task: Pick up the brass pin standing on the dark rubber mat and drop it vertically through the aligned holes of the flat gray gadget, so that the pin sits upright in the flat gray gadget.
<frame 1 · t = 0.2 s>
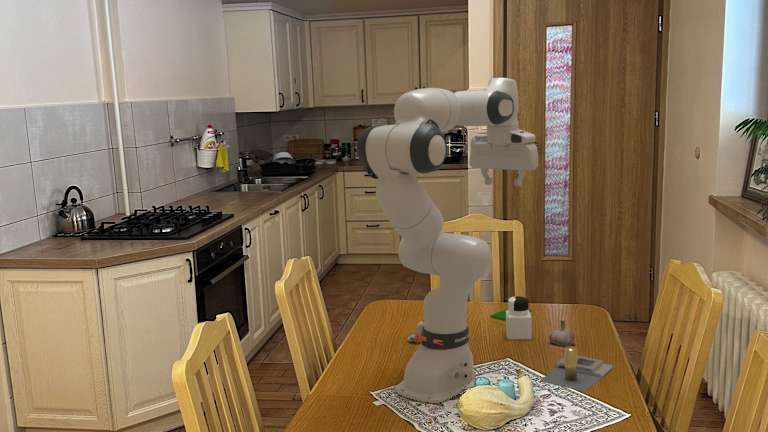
hand: (503, 185, 201), 47 cm above the table, fingers open, 8 cm apart
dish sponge: (511, 320, 234), on the table
flat gray gadget: (584, 365, 186), on the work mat, point 2 cm above the table
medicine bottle: (518, 336, 217), on the table
garlic bulb: (561, 345, 208), on the table
pacifier: (418, 340, 217), on the table
brass pin: (570, 378, 180), point 1 cm above the table, touching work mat
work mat: (578, 378, 184), on the table
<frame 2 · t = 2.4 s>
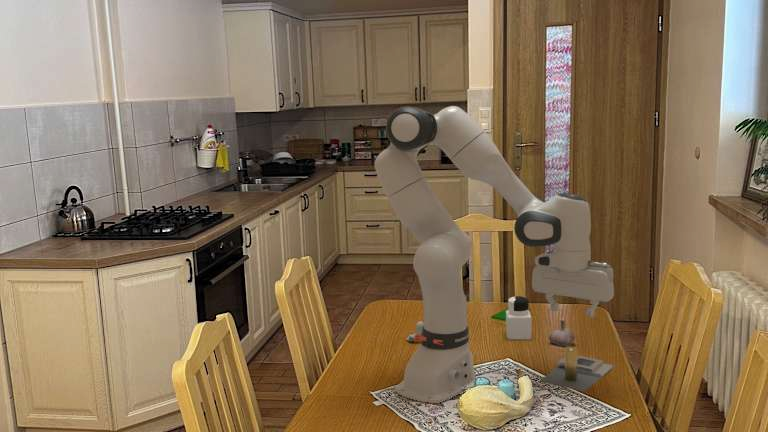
hand: (571, 313, 177), 19 cm above the table, fingers open, 8 cm apart
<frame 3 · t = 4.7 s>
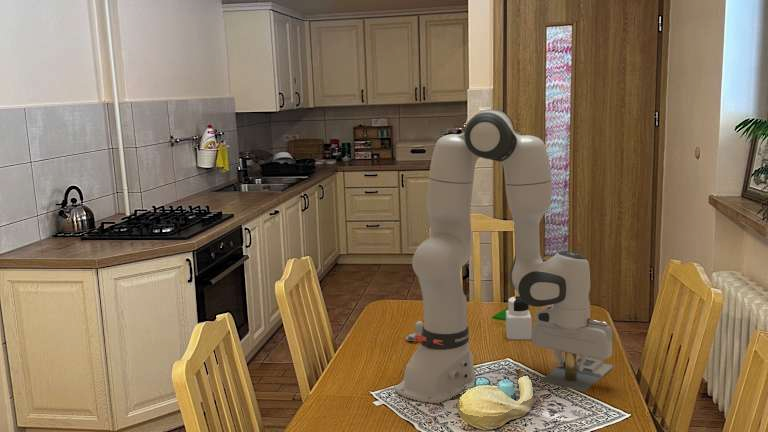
hand: (570, 368, 179), 4 cm above the table, fingers closed on brass pin, 3 cm apart
brass pin: (570, 378, 180), point 2 cm above the table, touching gripper, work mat
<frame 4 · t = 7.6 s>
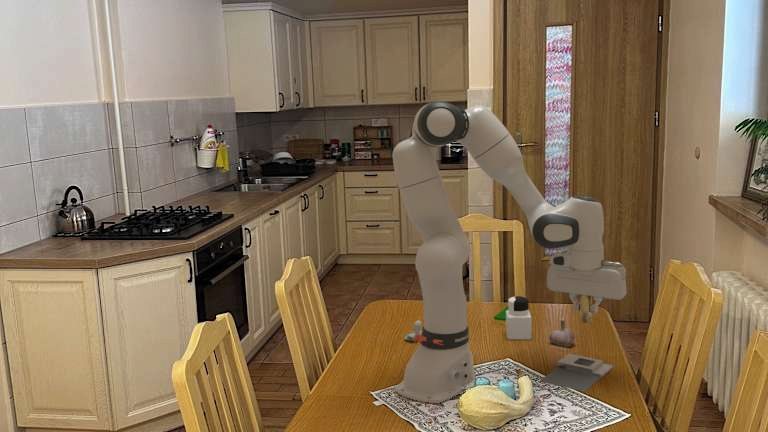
hand: (585, 311, 184), 17 cm above the table, fingers closed on brass pin, 3 cm apart
brass pin: (585, 321, 184), point 14 cm above the table, touching gripper
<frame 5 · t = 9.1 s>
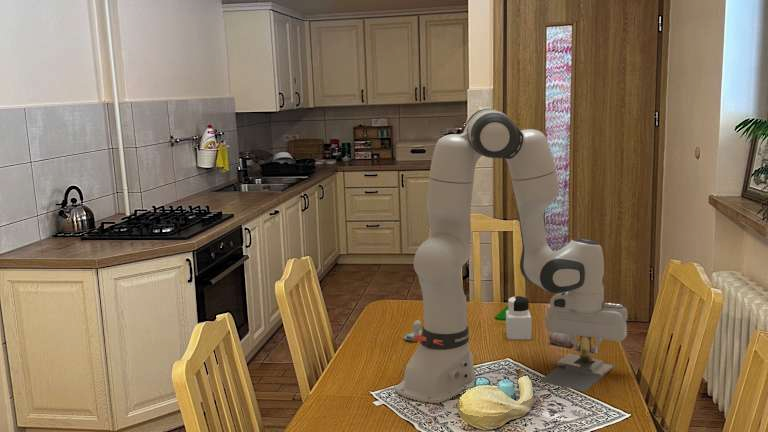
hand: (585, 351, 185), 6 cm above the table, fingers closed on brass pin, 3 cm apart
brass pin: (585, 361, 186), point 3 cm above the table, touching gripper
when the fingers open (5 cm above the table, at t = 10.2 s): brass pin stays where it is, resting on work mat.
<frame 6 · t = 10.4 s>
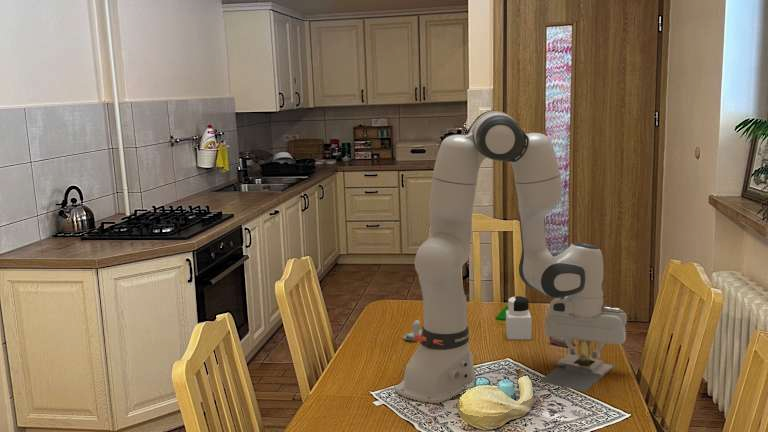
hand: (584, 355, 186), 5 cm above the table, fingers open, 5 cm apart
brass pin: (584, 367, 186), point 2 cm above the table, touching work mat
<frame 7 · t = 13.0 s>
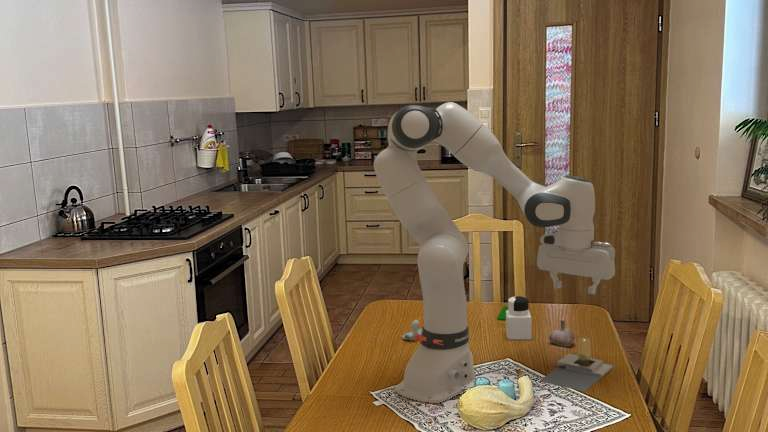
hand: (574, 290, 186), 22 cm above the table, fingers open, 8 cm apart
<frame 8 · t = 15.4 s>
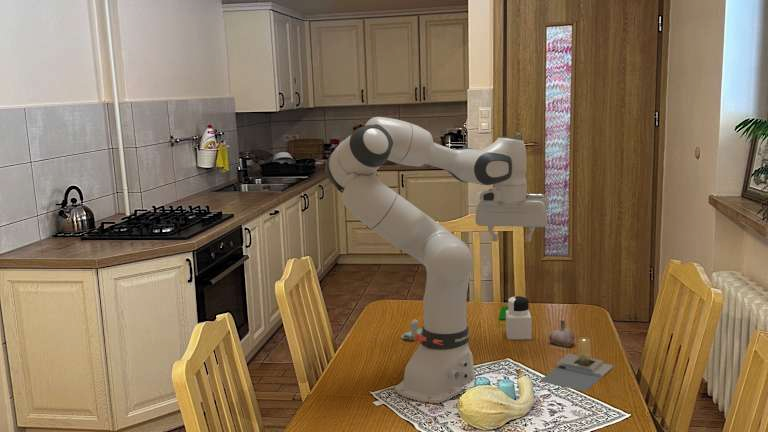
hand: (511, 241, 204), 31 cm above the table, fingers open, 8 cm apart
at the end: brass pin 0.1 cm from the target spot on the flat gray gadget, point 1.5 cm above the flat gray gadget's base; brass pin tilted 0°; the gripper is holding nothing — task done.
